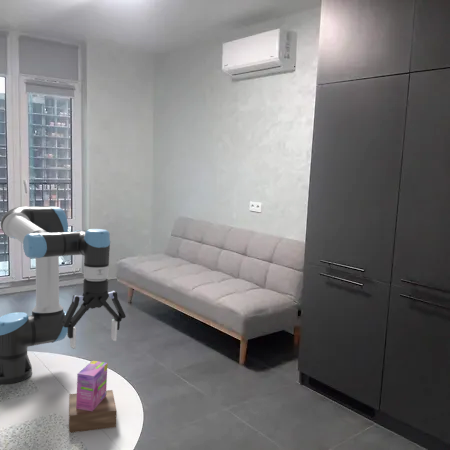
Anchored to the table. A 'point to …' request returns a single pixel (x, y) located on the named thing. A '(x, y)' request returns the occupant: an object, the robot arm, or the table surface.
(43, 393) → the table surface
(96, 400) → the box
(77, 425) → the walnut block
